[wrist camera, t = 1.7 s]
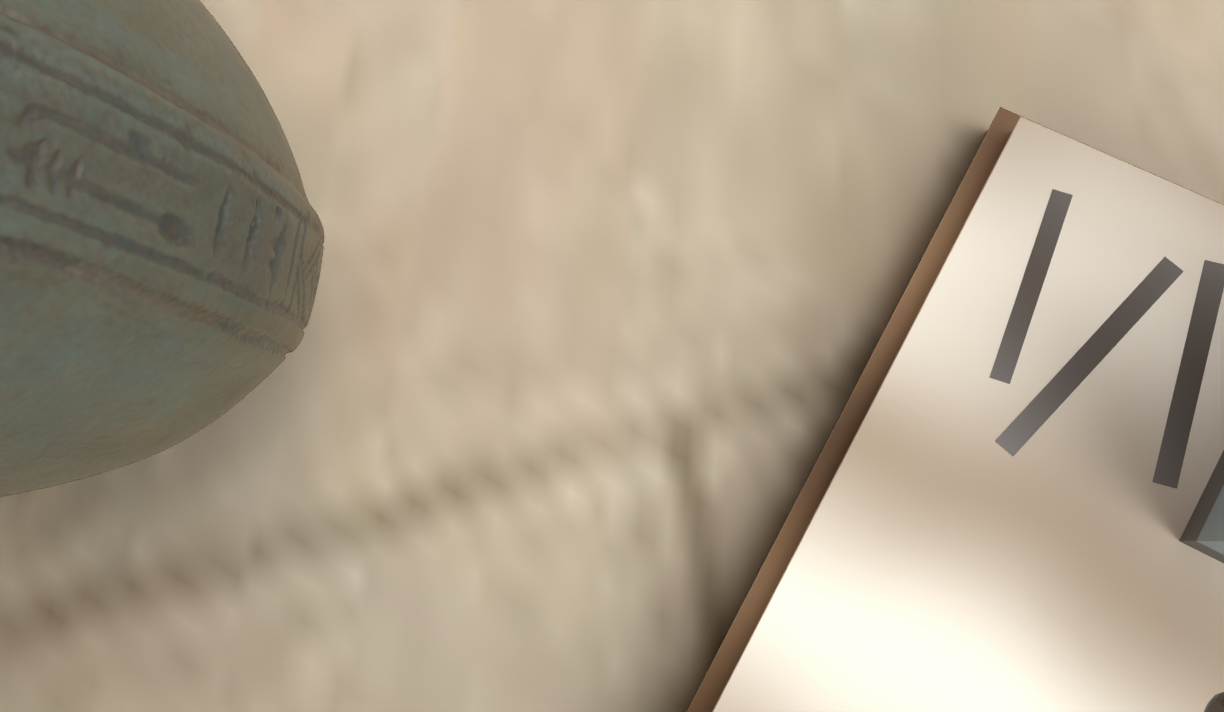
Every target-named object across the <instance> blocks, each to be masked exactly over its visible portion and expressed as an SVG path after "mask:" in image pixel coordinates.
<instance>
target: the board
mask: <svg viewBox="0 0 1224 712" xmlns="http://www.w3.org/2000/svg"><path fill="white" fill-rule="evenodd" d="M1223 450H1224V205H1223V204H1220V203H1218V202H1216V201H1214V200H1211V199H1209V198H1207V197H1204V196H1202V195H1200V194H1198V193H1195V192H1193V191H1191V190H1188V189H1186V188H1184V187H1182V186H1179V185H1177V184H1175V183H1172V182H1170V181H1168V180H1166V179H1163V178H1161V177H1159V176H1156V175H1154V174H1152V173H1150V172H1147V171H1145V170H1143V169H1140V168H1138V167H1136V166H1134V165H1131V164H1129V163H1127V162H1124V161H1122V160H1120V159H1118V158H1115V157H1113V156H1111V155H1108V154H1106V153H1104V152H1102V151H1099V150H1097V149H1095V148H1092V147H1090V146H1088V145H1086V144H1083V143H1081V142H1079V141H1076V140H1074V139H1072V138H1070V137H1067V136H1065V135H1063V134H1060V133H1058V132H1056V131H1053V130H1051V129H1049V128H1047V127H1044V126H1042V125H1040V124H1037V123H1035V122H1033V121H1031V120H1028V119H1026V118H1024V117H1021V116H1019V115H1017V114H1015V113H1012V112H1010V111H1008V110H1005V109H1003V108H1001V107H1000V109H999V111H998V113H997V114H996V116H995V118H994V120H993V122H992V124H991V126H990V128H989V130H988V131H987V133H986V135H985V137H984V139H983V141H982V143H981V145H980V147H979V149H978V151H977V153H976V155H975V157H974V158H973V160H972V162H971V164H970V166H969V168H968V170H967V172H966V174H965V176H964V178H963V180H962V182H961V184H960V185H959V187H958V189H957V191H956V193H955V195H954V197H953V199H952V201H951V203H950V205H949V207H948V209H947V210H946V212H945V214H944V216H943V218H942V220H941V222H940V224H939V226H938V228H937V230H936V232H935V234H934V236H933V237H932V239H931V241H930V243H929V245H928V247H927V249H926V251H925V253H924V255H923V257H922V259H921V261H920V263H919V264H918V266H917V268H916V270H915V272H914V274H913V276H912V278H911V280H910V282H909V284H908V286H907V288H906V289H905V291H904V293H903V295H902V297H901V299H900V301H899V303H898V305H897V307H896V309H895V311H894V313H893V315H892V316H891V318H890V320H889V322H888V324H887V326H886V328H885V330H884V332H883V334H882V336H881V338H880V340H879V341H878V343H877V345H876V347H875V349H874V351H873V353H872V355H871V357H870V359H869V361H868V363H867V365H866V367H865V368H864V370H863V372H862V374H861V376H860V378H859V380H858V382H857V384H856V386H855V388H854V390H853V392H852V394H851V395H850V397H849V399H848V401H847V403H846V405H845V407H844V409H843V411H842V413H841V415H840V417H839V419H838V420H837V422H836V424H835V426H834V428H833V430H832V432H831V434H830V436H829V438H828V440H827V442H826V444H825V446H824V447H823V449H822V451H821V453H820V455H819V457H818V459H817V461H816V463H815V465H814V467H813V469H812V471H811V473H810V474H809V476H808V478H807V480H806V482H805V484H804V486H803V488H802V490H801V492H800V494H799V496H798V498H797V499H796V501H795V503H794V505H793V507H792V509H791V511H790V513H789V515H788V517H787V519H786V521H785V523H784V525H783V526H782V528H781V530H780V532H779V534H778V536H777V538H776V540H775V542H774V544H773V546H772V548H771V550H770V552H769V553H768V555H767V557H766V559H765V561H764V563H763V565H762V567H761V569H760V571H759V573H758V575H757V577H756V578H755V580H754V582H753V584H752V586H751V588H750V590H749V592H748V594H747V596H746V598H745V600H744V602H743V604H742V605H741V607H740V609H739V611H738V613H737V615H736V617H735V619H734V621H733V623H732V625H731V627H730V629H729V630H728V632H727V634H726V636H725V638H724V640H723V642H722V644H721V646H720V648H719V650H718V652H717V654H716V656H715V657H714V659H713V661H712V663H711V665H710V667H709V669H708V671H707V673H706V675H705V677H704V679H703V681H702V683H701V684H700V686H699V688H698V690H697V692H696V694H695V696H694V698H693V700H692V702H691V704H690V706H689V708H688V709H687V711H686V712H1204V709H1205V707H1206V706H1207V704H1208V702H1209V701H1210V700H1211V699H1212V697H1213V696H1214V695H1216V694H1218V693H1221V692H1224V563H1222V562H1220V561H1218V560H1216V559H1214V558H1212V557H1210V556H1208V555H1206V554H1204V553H1202V552H1200V551H1198V550H1196V549H1194V548H1192V547H1190V546H1188V545H1186V544H1184V543H1182V542H1180V541H1179V540H1180V538H1181V536H1182V534H1183V532H1184V530H1185V528H1186V526H1187V524H1188V522H1189V520H1190V518H1191V516H1192V514H1193V512H1194V509H1195V507H1196V505H1197V503H1198V501H1199V499H1200V497H1201V495H1202V493H1203V491H1204V489H1205V487H1206V485H1207V483H1208V481H1209V479H1210V477H1211V475H1212V473H1213V471H1214V469H1215V467H1216V465H1217V462H1218V460H1219V458H1220V456H1221V454H1222V452H1223Z"/></svg>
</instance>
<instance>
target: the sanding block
mask: <svg viewBox="0 0 1224 712" xmlns="http://www.w3.org/2000/svg"><path fill="white" fill-rule="evenodd" d="M1179 541H1180V542H1182V543H1184V544H1186V545H1188V546H1190V547H1192V548H1194V549H1196V550H1198V551H1200V552H1202V553H1204V554H1206V555H1208V556H1210V557H1212V558H1214V559H1216V560H1218V561H1220V562H1222V563H1224V450H1223V452H1222V454H1221V456H1220V458H1219V460H1218V462H1217V465H1216V467H1215V469H1214V471H1213V473H1212V475H1211V477H1210V479H1209V481H1208V483H1207V485H1206V487H1205V489H1204V491H1203V493H1202V495H1201V497H1200V499H1199V501H1198V503H1197V505H1196V507H1195V509H1194V512H1193V514H1192V516H1191V518H1190V520H1189V522H1188V524H1187V526H1186V528H1185V530H1184V532H1183V534H1182V536H1181V538H1180V540H1179Z"/></svg>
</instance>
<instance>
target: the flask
mask: <svg viewBox="0 0 1224 712" xmlns="http://www.w3.org/2000/svg"><path fill="white" fill-rule="evenodd" d="M323 243H324V231H323V227H322V224H321V221H320V219H319V217H318V215H317V214H316V212H315V211H314V209H313V208H312V206H311V205H310V204H309V202H308V200H307V197H306V194H305V191H304V188H303V184H302V180H301V177H300V173H299V170H298V167H297V165H296V162H295V159H294V157H293V154H292V151H291V148H290V146H289V143H288V141H287V139H286V136H285V134H284V132H283V130H282V127H281V125H280V123H279V121H278V119H277V117H276V115H275V113H274V111H273V109H272V107H271V105H270V103H269V101H268V99H267V97H266V95H265V94H264V92H263V90H262V88H261V86H260V85H259V83H258V81H257V80H256V78H255V76H254V75H253V73H252V71H251V70H250V68H249V67H248V65H247V64H246V62H245V60H244V59H243V57H242V56H241V54H240V53H239V51H238V50H237V49H236V47H235V46H234V44H233V43H232V41H231V40H230V39H229V37H228V36H227V35H226V33H225V32H224V30H223V29H222V28H221V26H220V25H219V24H218V22H217V21H216V20H215V19H214V17H213V16H212V15H211V13H210V12H209V11H208V10H207V9H206V8H205V6H204V5H203V4H202V3H201V1H200V0H0V497H2V496H7V495H12V494H18V493H22V492H28V491H32V490H37V489H42V488H47V487H51V486H55V485H59V484H64V483H67V482H71V481H75V480H79V479H82V478H86V477H89V476H93V475H96V474H100V473H103V472H106V471H109V470H112V469H116V468H118V467H122V466H125V465H128V464H130V463H133V462H136V461H139V460H141V459H144V458H147V457H149V456H152V455H154V454H157V453H159V452H161V451H164V450H166V449H168V448H170V447H172V446H174V445H176V444H178V443H179V442H181V441H183V440H185V439H186V438H188V437H190V436H191V435H193V434H194V433H196V432H198V431H199V430H201V429H202V428H204V427H205V426H207V425H208V424H210V423H211V422H213V421H214V420H216V419H217V418H218V417H220V416H221V415H222V414H224V413H225V412H227V411H228V410H229V409H230V408H232V407H233V406H234V405H236V404H237V403H238V402H239V401H240V400H242V399H243V398H244V397H245V396H246V395H247V394H248V393H249V392H251V391H252V390H253V389H254V388H255V387H256V386H257V385H258V384H260V383H261V382H262V381H263V380H264V379H265V378H266V377H267V376H268V375H269V374H270V373H271V372H272V371H273V370H274V369H275V368H276V367H277V366H278V365H279V364H280V363H281V362H282V361H283V360H284V359H285V358H286V357H285V354H286V353H288V352H292V351H294V350H295V349H296V347H297V346H298V345H299V344H300V342H301V340H302V338H303V336H304V332H303V329H304V328H305V327H306V326H307V324H308V321H309V318H310V315H311V311H312V307H313V303H314V299H315V295H316V290H317V284H318V281H319V276H320V270H321V263H322V257H323V248H324V247H323Z"/></svg>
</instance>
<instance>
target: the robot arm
mask: <svg viewBox="0 0 1224 712" xmlns="http://www.w3.org/2000/svg"><path fill="white" fill-rule="evenodd" d="M1204 712H1224V692H1221V693H1218V694H1216V695H1214V696H1213V697H1212V699H1211V700H1210V701H1209V702H1208V704H1207V706H1206V707H1205V709H1204Z"/></svg>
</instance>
